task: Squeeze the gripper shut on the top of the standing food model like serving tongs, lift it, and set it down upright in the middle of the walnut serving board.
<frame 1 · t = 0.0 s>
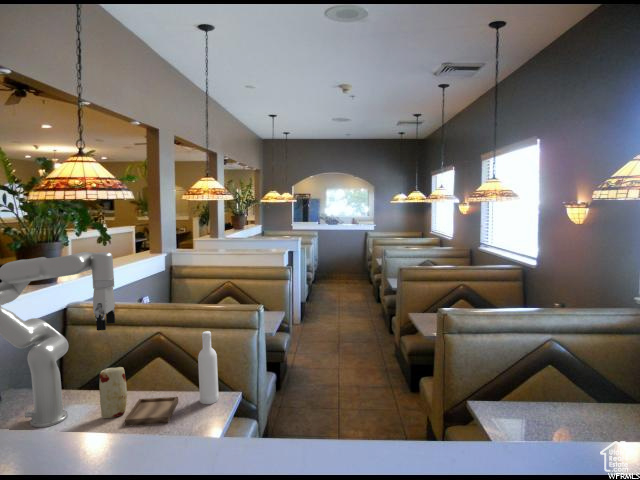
hand: (106, 326, 174), 37 cm above the table, tool pointing down, fingers open, 9 cm apart
bottle: (209, 400, 189), on the table
food model: (114, 416, 177), on the table
serving board: (153, 413, 178), on the table
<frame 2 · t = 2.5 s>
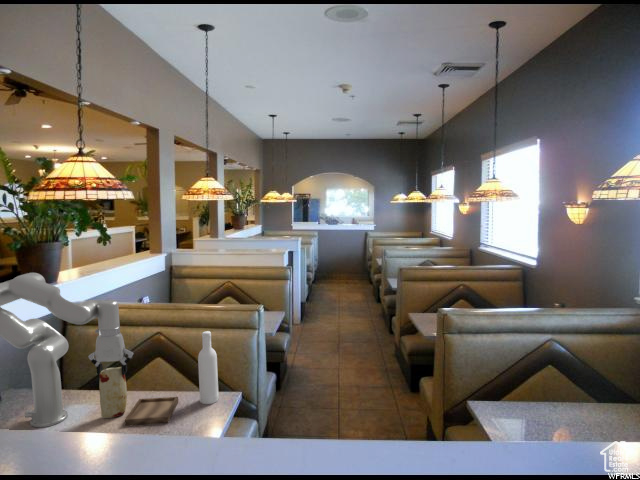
hand: (112, 374, 175), 17 cm above the table, tool pointing down, fingers closed on food model, 8 cm apart
food model: (114, 416, 177), on the table, touching gripper
everything else where it was.
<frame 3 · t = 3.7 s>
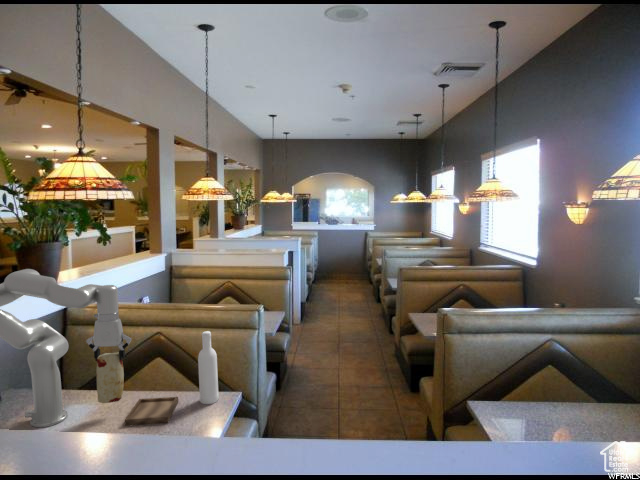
hand: (109, 359, 175), 23 cm above the table, tool pointing down, fingers closed on food model, 8 cm apart
food model: (111, 401, 176), point 6 cm above the table, touching gripper
everything else where it was.
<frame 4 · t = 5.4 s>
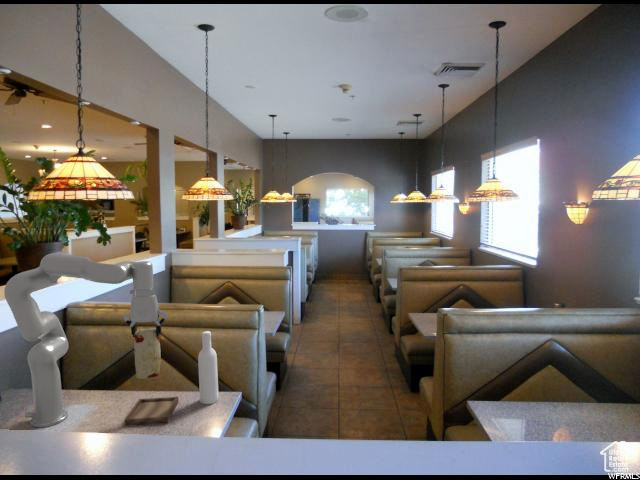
hand: (146, 335, 175), 32 cm above the table, tool pointing down, fingers closed on food model, 8 cm apart
food model: (149, 377, 177), point 15 cm above the table, touching gripper
everything else where it was.
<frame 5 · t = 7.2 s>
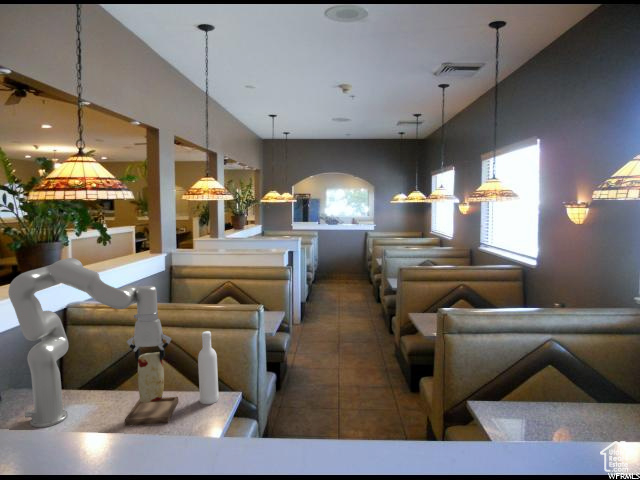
hand: (150, 359, 176), 23 cm above the table, tool pointing down, fingers closed on food model, 8 cm apart
food model: (152, 401, 178), point 5 cm above the table, touching gripper
everything else where it was.
when the fingers open (20 cm above the table, at t = 8.4 s): food model drops 2 cm, resting on serving board.
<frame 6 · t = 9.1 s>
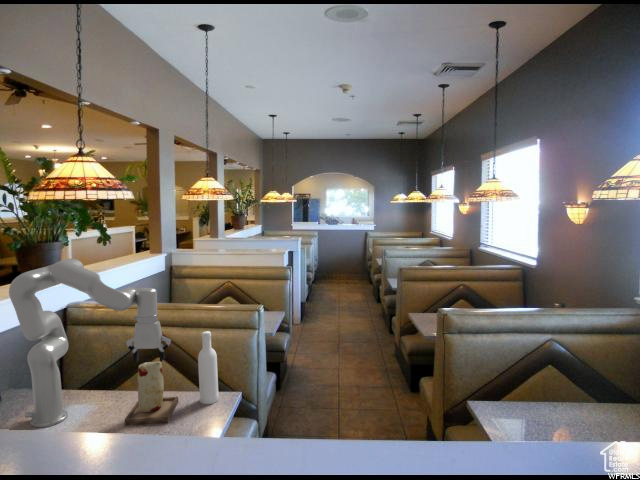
hand: (149, 361, 176), 22 cm above the table, tool pointing down, fingers open, 9 cm apart
food model: (151, 410, 178), point 1 cm above the table, touching serving board
everything else where it was.
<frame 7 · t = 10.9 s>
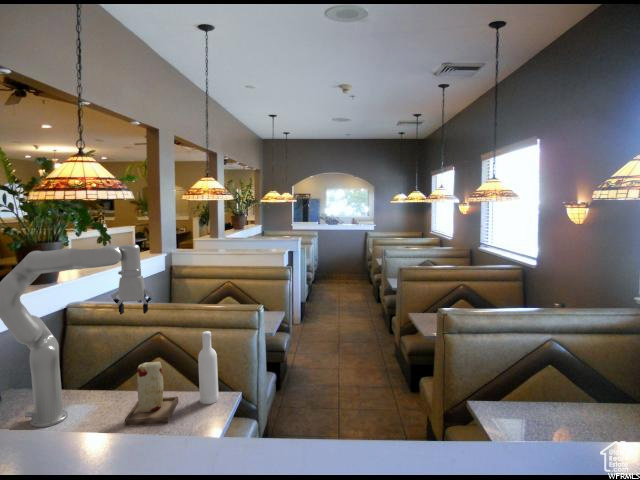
hand: (133, 313, 188), 38 cm above the table, tool pointing down, fingers open, 9 cm apart
nothing on the table moved.
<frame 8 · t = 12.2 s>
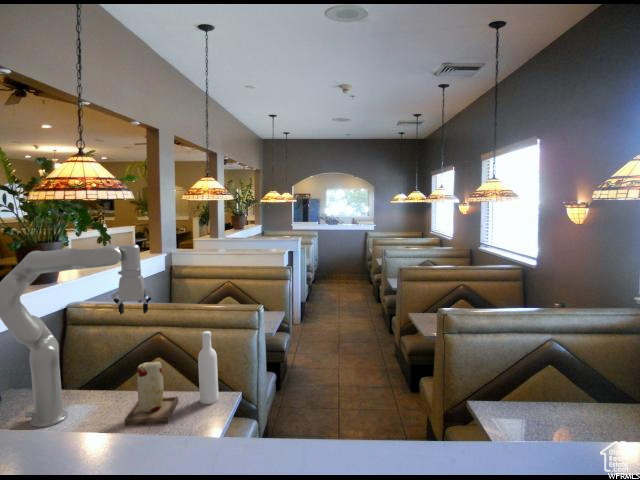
hand: (133, 313, 188), 38 cm above the table, tool pointing down, fingers open, 9 cm apart
nothing on the table moved.
at the end: food model inside the target area on the serving board (0.4 cm from its centre), point 1.3 cm above the serving board's base; food model tilted 0°; the gripper is holding nothing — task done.
